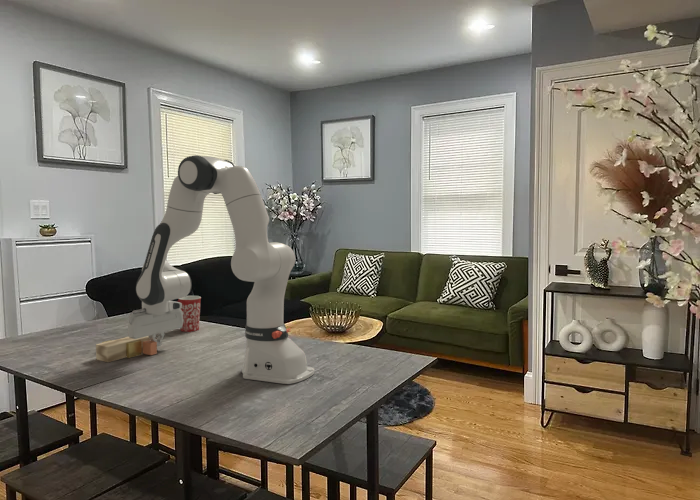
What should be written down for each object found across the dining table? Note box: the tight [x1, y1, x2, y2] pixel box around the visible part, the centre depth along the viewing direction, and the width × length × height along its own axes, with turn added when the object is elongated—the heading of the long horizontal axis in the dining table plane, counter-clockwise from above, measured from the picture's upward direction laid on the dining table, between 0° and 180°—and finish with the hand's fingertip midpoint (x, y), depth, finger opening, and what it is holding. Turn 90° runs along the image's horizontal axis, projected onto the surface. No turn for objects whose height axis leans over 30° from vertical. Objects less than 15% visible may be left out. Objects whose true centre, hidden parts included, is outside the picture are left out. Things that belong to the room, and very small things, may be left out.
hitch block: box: [95, 336, 151, 363], centre depth 165 cm, size 6×16×5 cm, turn 150°
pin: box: [101, 339, 142, 359], centre depth 167 cm, size 15×5×5 cm, turn 61°
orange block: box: [142, 340, 158, 356], centre depth 166 cm, size 4×2×4 cm, turn 60°
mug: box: [176, 295, 202, 333], centre depth 202 cm, size 13×9×14 cm
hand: (156, 346), depth 168 cm, fingers closed
